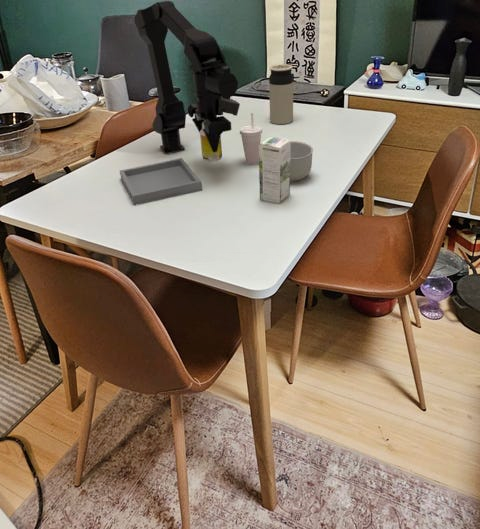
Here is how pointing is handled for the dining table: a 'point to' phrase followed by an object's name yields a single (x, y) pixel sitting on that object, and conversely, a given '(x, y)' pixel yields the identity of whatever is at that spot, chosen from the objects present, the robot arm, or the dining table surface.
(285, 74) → the travel mug
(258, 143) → the smoothie
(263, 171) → the syrup box
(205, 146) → the supplement bottle
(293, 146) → the teacup
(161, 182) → the tray
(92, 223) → the dining table surface
